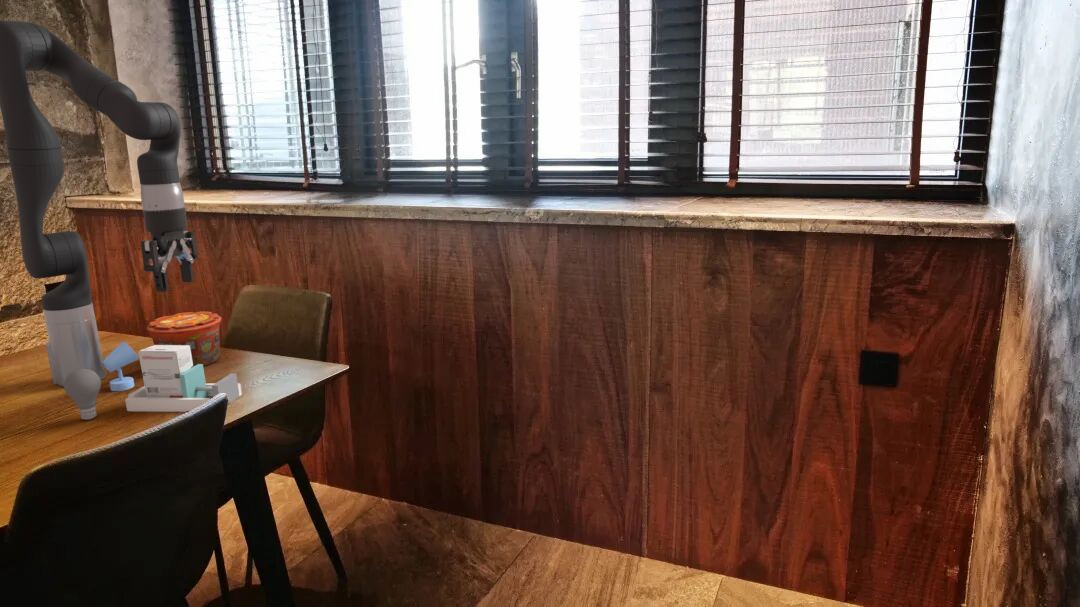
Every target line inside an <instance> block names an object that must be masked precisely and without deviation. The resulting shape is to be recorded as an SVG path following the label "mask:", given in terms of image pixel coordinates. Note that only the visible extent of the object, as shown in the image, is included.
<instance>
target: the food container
mask: <svg viewBox="0 0 1080 607" xmlns="http://www.w3.org/2000/svg"><path fill="white" fill-rule="evenodd" d="M222 321H223V320H222V317H221V316H220V315H219V314H218V313H215V312H214V313H213V312H212V311H201V310H200V311H197V312H193V311H188V312H186V311H185V312H180V313H175V314H173V315H164V316H161V317H158V318H154V319H153V321H150V322H149V324H148V325H147V326H146V332H148V333H150V335H151V339H152V342H153V345H190V349H191V355H192V361H193V367H194V366H196V365H198V364H203V368H204V367H207V366H211V365H213V364H215V363H217V362H218V361H219V360H220V358H221V356H220V355H221V349H220V347H221V343H220V338H221V337H220V336H221V335H220V325H221V323H222Z"/></svg>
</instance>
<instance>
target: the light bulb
mask: <svg viewBox="0 0 1080 607" xmlns="http://www.w3.org/2000/svg"><path fill="white" fill-rule="evenodd" d="M101 385H102V382H101V380H100V377H99V376H98V375H97V374H96V373H95V372H94V371H92V370H89V369H78V370H75V371H73V372H71V373H70V374H69V375H68V376H67V378H66V379H65V382H64V387H63V389H64V391H65V394H67V396H69V397H70V399H72V400H73V402H74V403H75V406H76V407H77V408H78V410H79V414H80V419H82V420H86V421H89V420H92V419H94V418H95V417H96V416H97V411H96V410H97V409H96V405H97V396H98V394H99V392H100V389H101Z"/></svg>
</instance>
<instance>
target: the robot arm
mask: <svg viewBox="0 0 1080 607" xmlns="http://www.w3.org/2000/svg"><path fill="white" fill-rule="evenodd" d="M40 71H45V72H47V73H50V74H53V75H56V76H58V77H60V78H62V79H63V80H65V81H67V82H68V84H69V86H70V88H71V90H72V92H73V93H74V94H75V96H76V97H77V98H79V100H81V102H84V103H85V104H86V105H88V106H89V107H91V108H93V109H94V110H96V111H98V112H99V113H100V114H102V115H105V116H107V118H108V119H109V120H110V121H111V122H112V123H113V124H114V125H115V126H116V127H117V128H118V129H119V130H120V131H121V132H122V133H123V134H124V135H127V137H130V138H133V139H135V140H140V141H150V143H149V148H148V150H147V151H146V152H144V153H142V154H139V156H138V157H137V160H136V165H137V170H138V171H137V172H138V177H139V184H140V200H141V206H142V214H143V221H144V226H145V230H146V231H147V232H148V233H150V234H151V240H142V241H141V242H140V247H141V255H142V256H141V257H142V264H143V270H144V271H145V272H149V273H152V275H153V279H154V280H153V281H154V286H155V289H156V292H168V291H169V290H170V288H169V282H168V274H167V271H166V270H167V267H168V265H169V264H170V262H171V260H172V259H174V258H176V259H177V260H178V262H179V270H180V276H181V281H182V282H183V283H192V282H194V281H195V280H194V278H195V277H194V271H193V264H194V262H195V261H194V260H197V259H198V258H199V254H198V247H197V243H196V242H197V241H196V236H195V232H194V230H187V229H188V226H189V224H188V218H187V212H186V205H185V198H184V193H183V190H182V189H183V188H182V186H181V180H180V173H179V167H178V156H179V150H180V141H181V133H182V127H181V126H182V124H181V121H180V118H179V114H178V113H177V111H176V110H175V108H173V107H172V106H171V105H170V104H168V103H165V102H160V101H159V102H158V101H155V102H153V101H149V102H147V101H138V98H137V95H136V94H135V91H134V90H132V88H130V86H127V85H126V84H124V83H123V82H120V80H118V79H116V78H114V77H112V76H111V75H109V74H108V73H105V72H104V71H102V70H101V69H99V68H97V67H96V66H94V65H92V64H91V63H90V62H89V61H87V60H86V59H85V58H83V57H82V56H81V55H80V54H78V53H77V52H76V51H75V50H74V49H72V47H70V46H68V44H66V43H65V42H64V41H63V40H62V39H61V38H60V37H58V36H57V35H56V34H54V32H52V31H51V30H49V29H48V28H47V27H45V26H43V25H41V24H39V23H35V22H29V21H18V20H6V19H0V112H1V118H2V122H3V127H4V133H5V141H6V142H5V143H6V151H7V155H8V162H9V166H10V170H11V175H12V180H13V185H14V191H15V196H16V203H17V210H18V219H19V220H18V222H19V231H20V243H21V244H20V246H21V254H22V260H23V263H24V267H25V269H26V272H27V273H28V275H30V277H32V278H33V279H47V278H54V277H61V276H65V279H64V280H63V282H61V283H60V284H59V285H58V286H56V287H55V288H54V289H52V290H50V291H48V292H46V293H44V294H43V295H42V296H41V298H40V299H41V300H40V302H41V308H42V312H43V316H44V322H45V328H46V332H47V337H48V341H47V342H46V343H45V349H46V354H47V358H48V363H49V368H50V369H49V370H50V374H51V378H52V383H53V385H58V386H59V387H63V388H64V382H65V379H66V378H67V376H68V375H69V374H70V373H71V372H73V371H75V370H78V369H89V370H92V371H94V372H95V373H96V374H97V375H98V376H99V377H100V380H104V379H105V378H106V376H107V374H106V368H105V366H104V365H103V364H102V361H103V360H104V358H103V353H102V347H101V342H100V337H99V331H98V326H97V320H96V316H95V311H94V310H95V309H94V304H93V299H92V287H91V286H92V285H91V281H90V274H89V273H90V272H89V264H88V257H87V251H86V247H85V246H86V245H85V243H84V241H83V239H82V237H81V235H80V234H79V233H78V232H76V231H72V230H67V231H56V232H49V233H47V232H46V233H44V217H45V215H46V214H45V213H46V211H47V208H48V205H49V203H50V202H51V199H52V198H53V196H54V195H55V192H56V190H57V189H58V187H59V186H60V183H61V182H62V178H63V177H64V173H65V163H64V156H63V149H62V143H61V138H60V137H59V135H58V133H57V131H56V130H55V128H54V127H53V125H52V124H51V122H50V121H49V120H48V119H47V117H46V116H45V115H44V113H42V111H41V109H40V108H39V106H38V105H37V104H36V102H35V100H34V99H33V97H32V94H31V90H30V86H29V83H28V79H27V78H28V77H27V73H26V72H40ZM190 249H191V250H190ZM150 260H151V263H150Z"/></svg>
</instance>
